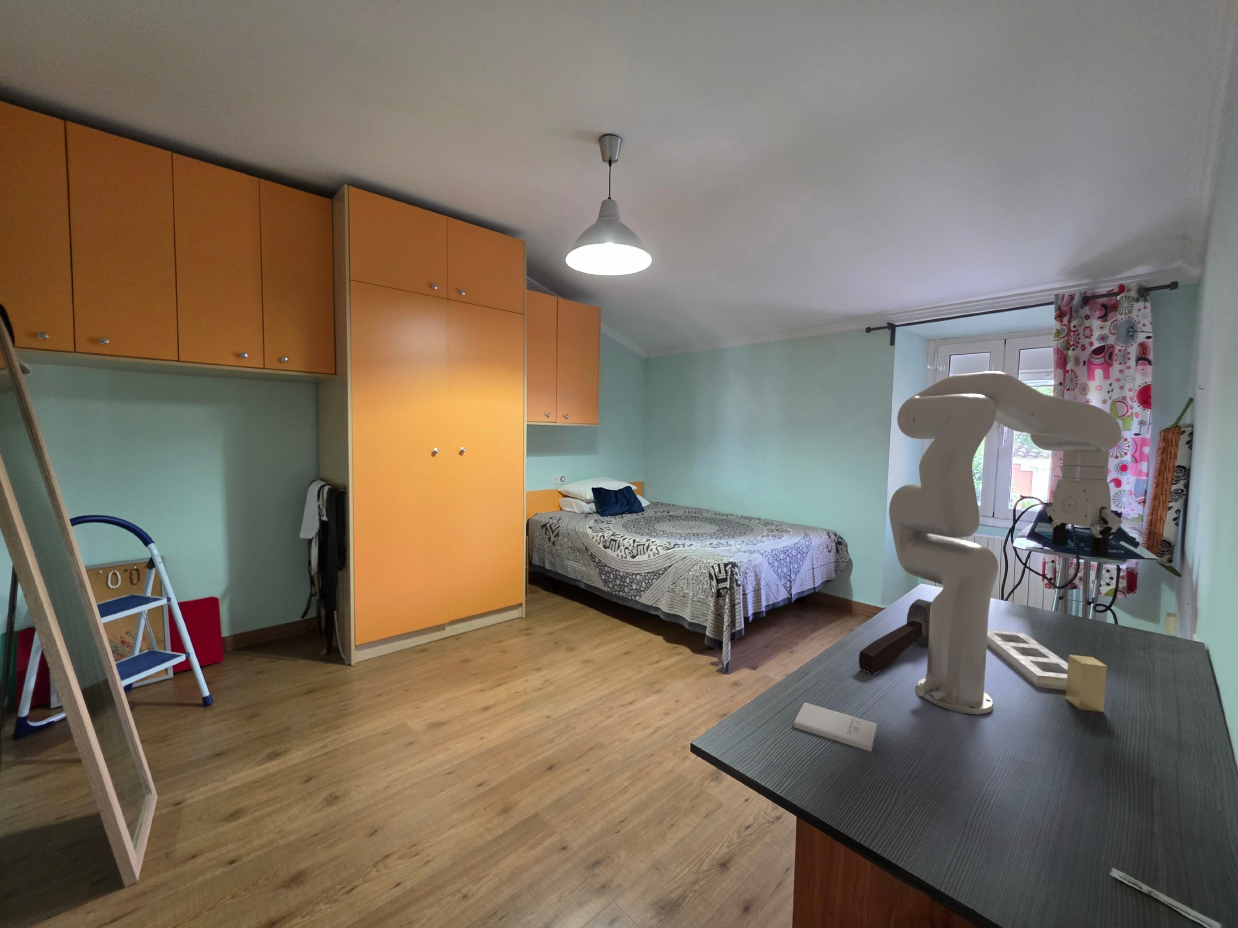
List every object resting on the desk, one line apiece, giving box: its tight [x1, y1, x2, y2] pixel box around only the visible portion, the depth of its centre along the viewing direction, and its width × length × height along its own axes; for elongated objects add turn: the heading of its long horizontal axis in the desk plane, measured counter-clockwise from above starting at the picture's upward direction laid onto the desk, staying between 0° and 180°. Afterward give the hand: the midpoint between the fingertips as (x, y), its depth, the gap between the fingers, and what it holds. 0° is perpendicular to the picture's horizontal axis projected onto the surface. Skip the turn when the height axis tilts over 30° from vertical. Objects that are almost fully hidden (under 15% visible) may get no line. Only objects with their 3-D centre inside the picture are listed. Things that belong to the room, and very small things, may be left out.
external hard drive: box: [793, 702, 878, 752], centre depth 89 cm, size 2×8×12 cm
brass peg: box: [1065, 654, 1108, 713], centre depth 98 cm, size 4×4×9 cm
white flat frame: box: [987, 629, 1068, 691], centre depth 117 cm, size 26×10×2 cm, turn 167°
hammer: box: [858, 598, 932, 675], centre depth 119 cm, size 5×11×30 cm
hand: (1078, 550), depth 113 cm, fingers open, 9 cm apart
